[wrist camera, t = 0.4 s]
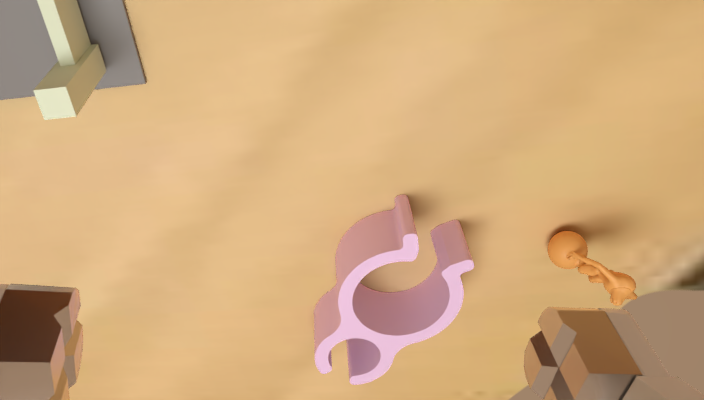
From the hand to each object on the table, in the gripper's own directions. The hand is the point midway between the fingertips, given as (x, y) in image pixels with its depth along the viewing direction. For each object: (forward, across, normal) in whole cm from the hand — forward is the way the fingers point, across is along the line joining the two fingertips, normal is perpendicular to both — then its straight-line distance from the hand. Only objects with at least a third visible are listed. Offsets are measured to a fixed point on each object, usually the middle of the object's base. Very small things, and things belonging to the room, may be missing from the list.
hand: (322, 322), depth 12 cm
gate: (+47, +15, +12) cm, 51 cm away
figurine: (+44, -35, +31) cm, 64 cm away
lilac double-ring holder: (+46, -16, +39) cm, 62 cm away
